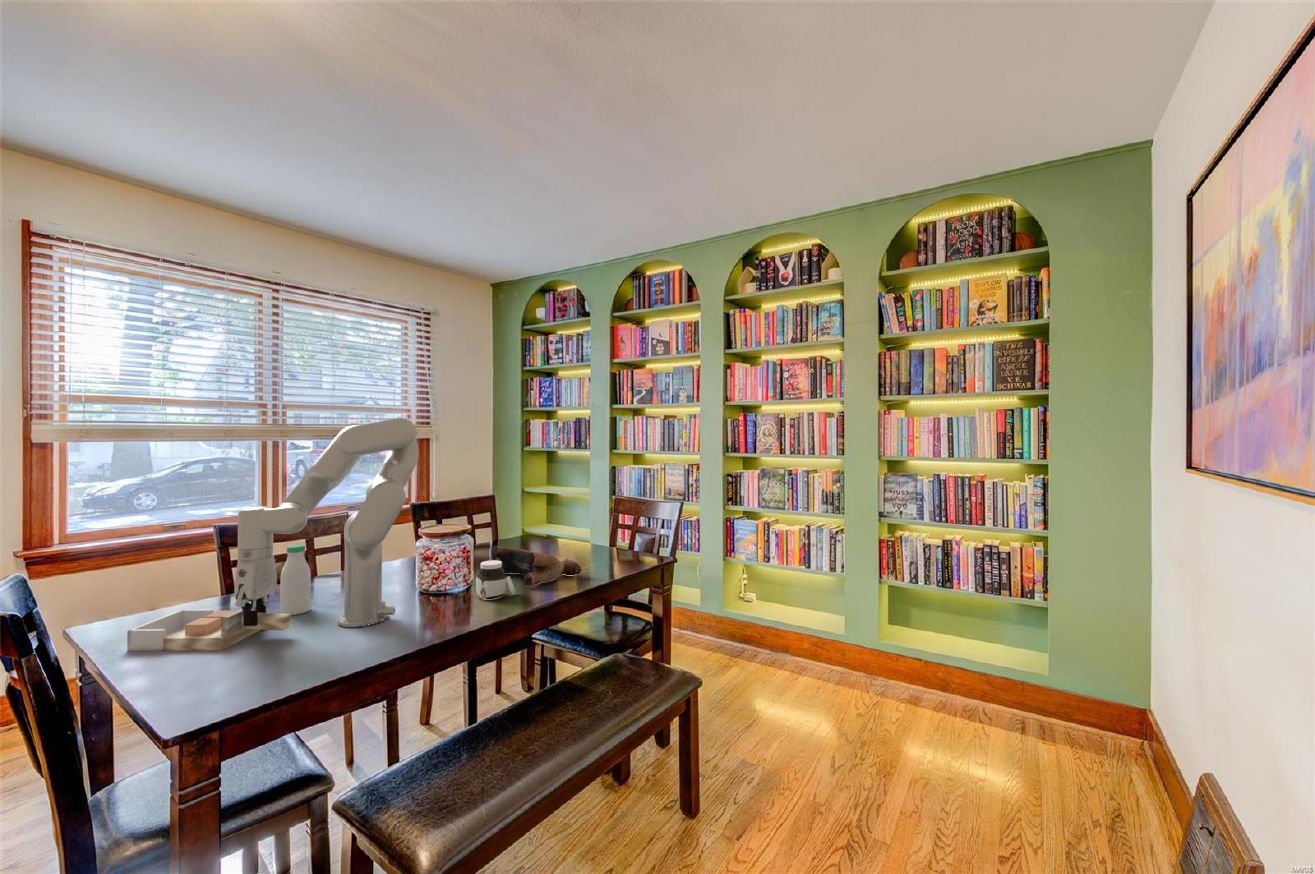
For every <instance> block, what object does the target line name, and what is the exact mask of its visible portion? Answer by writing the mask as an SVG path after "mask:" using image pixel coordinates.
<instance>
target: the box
mask: <svg viewBox="0 0 1315 874" xmlns="http://www.w3.org/2000/svg"><path fill="white" fill-rule="evenodd" d="M214 612H215V611H214V609H180V610H177V611H174V612H172V613H170V614H167V615H164V616H162V617H160V618H156V619H154V620H151V621H149V622H146V623H144V624H141V625H138V626H136V627H133V628H131V629H127V636H126V638H127V643H126V644H127V645H126V646H127V647H126V648H127V649H126V650H127V652H133V651H134V652H137V651H138V652H140V651H141V652H142V651H143V652H145V651H148V652H149V651H151V652H152V651H155V652H158V651H164V638H166V637H169V636H171V635H173V634H176V633H178V632H180V631H182V630H185V625H186V624H188V623H190V622H193V621H195V620H198V619H200V618H204V617H205V616H207V615H209V614H212V613H214Z"/></svg>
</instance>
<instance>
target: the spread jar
mask: <svg viewBox="0 0 1315 874" xmlns="http://www.w3.org/2000/svg"><path fill="white" fill-rule="evenodd" d="M510 576H511V575H506V574H505V571H504V570H503V568H502V562H501V561H500V560H496V559H495V560H494V559H491V560H485V561H482V562H480V569H479V570H478V571H477V573H476V576H475V577H476V578H475V582H476V583H475V590H476V594H477V597H478V596H480V597H482V598H486V599H493V598H497V597H500V596H503V595H504V596H505V595H506V592H507V587H508V590H509V592H511V593H510V595H511V594H512V595H514V594H516V595H517V592H516V590H515V587H514V583H513V581H512V577H510ZM512 595H511V596H512ZM504 596H503V597H504Z"/></svg>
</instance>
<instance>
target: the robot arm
mask: <svg viewBox="0 0 1315 874" xmlns="http://www.w3.org/2000/svg"><path fill="white" fill-rule="evenodd" d="M417 433H418V432H417V428H416V426H415V424H414V422H412V421H411V420H409V419H407V418H406V417H405V418H404V417H397V418H396V417H395V418H390V419H386V420H380V421H374V422H370V423H362V424H353V425H349V426H346V427H343V429H341V430H340V431H339V432H338V434H337V435H336V436H335V437H334V438H333V440H331V442H330V443H329V444H328V446H327V447H326V448H325V449H324V450H323V452H321V454H320V455H319V457H317V459H316V460H315V461H314V463H313V464H312V465H311V466H310V468H309V469H308V470H307V471H306V473H305V475H304V476H303V477H302V479H301V480H300V481H299V482H298V484H297V485H296V486H295V487H294V489H292V491H290V493H289V494H288V495H287V496H286V498H285V499H284V500H283V502H282V503H281V504H280V505H279V506H278V507H275V508H272V507H270V506H262V505H261V506H248V507H244V508H241V509H240V510H238V511H239V512H238V513H237V565H236V568H235V569H236V570H235V577H234V590H233V591H234V598H235V600H236V601H235V605H234V606H235V607H239V608H240V609H241V608H242V611H244V626H256V625H257V624H258V612H259V613H267V605H268V600H269V598H270V596H271V595H272V594H273V593H274V592H276V590H277V588H278V578H277V577H278V574H277V563H276V559H275V556H274V534H280V535H282V534H284V535H291V534H296V533H299V532H300V531H302V530H303V529H304V528H305V527H306V525H307V523H308V517H309V516H310V514H312V512H313V511H314V510H315V508H316V507H317V506H318V505H319V504H320V502H321V501H322V500H323V499H324V498H325V496H327V495H328V494H329V493H330V492H331V491H333V490H334V489H336V488H337V487H338V486H339V485H340V484H341V482H342V481H343V480H344V479H345V477H346V476H347V475H348V474H349V472H351V470H352V469H353V467H354V466H356V464H357V462H359V460H360V459H361V458H362V456H365V455H370V454H372V455H373V454H376V453H382V452H386V451H387V453H386V456H385V458H384V461H383V462H382V464H381V466H380V468H379V469H378V472H377V473H376V474H375V476H374V477H373V479H372V481H371V482H370V484H369V485H368V487H367V489H366V491H365V500H364V501H363V503H362V505H361V507H360V508H359V510H358V511H356V512H354V513H352V515H350V516H349V517H348V518H347V520H346V522H345V524H344V526H343V527H344V528H343V538H344V601H343V602H344V605H343V606H344V607H343V608H344V612H343V613H344V614H343V615H341V616H340V617H339V618H338V619H337V624H338V626H340V625H341V627H344V628H360V627H359V626H362V627H365V626H364V625H368V624H372V623H376V624H379V623H380V622H379V621H381V620H383V619H385V618H386V617H387V618H388V616H394V615H395V613H396V608H395V606H393V605H392V606H390V605H389V606H387V605H386V601H383V600H382V599H383V596H382V595H383V541H384V540H385V538H386V537H387V535H388V534H389V532H390V530H391V529H392V527H393V525H394V523H395V522H396V520H397V518H398V516H399V515H400V512H401V511H402V509H403V507H404V505H405V501H406V494H407V493H406V491H405V487H406V486H407V484H408V482H409V481H410V478H411V476H412V474H413V472H414V470H415V468H416V466H417V464H418V463H417V462H418V460H419V453H420V452H419V445H418V440H417V439H416V437H417ZM387 615H388V616H387ZM387 618H386V619H387ZM386 619H385V620H386ZM383 621H384V620H383ZM378 622H379V623H378ZM381 622H382V621H381ZM372 625H373V624H372ZM368 626H369V625H368Z"/></svg>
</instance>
